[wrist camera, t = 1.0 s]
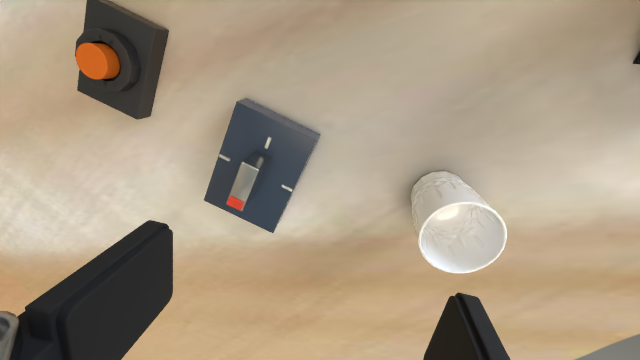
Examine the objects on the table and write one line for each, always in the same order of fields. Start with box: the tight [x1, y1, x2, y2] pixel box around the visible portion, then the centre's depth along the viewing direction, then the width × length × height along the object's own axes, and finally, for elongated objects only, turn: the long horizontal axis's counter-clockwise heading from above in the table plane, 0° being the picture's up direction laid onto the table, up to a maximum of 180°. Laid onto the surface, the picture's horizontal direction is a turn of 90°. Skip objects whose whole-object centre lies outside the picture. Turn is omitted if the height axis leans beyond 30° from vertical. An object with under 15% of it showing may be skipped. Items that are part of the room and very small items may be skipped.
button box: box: [75, 0, 169, 119], centre depth 35 cm, size 11×8×4 cm
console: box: [204, 99, 320, 233], centre depth 38 cm, size 14×10×3 cm
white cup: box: [410, 171, 507, 273], centre depth 33 cm, size 8×8×10 cm
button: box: [76, 43, 120, 79], centre depth 33 cm, size 4×4×2 cm
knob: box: [226, 150, 271, 211], centre depth 34 cm, size 6×2×5 cm, turn 155°
